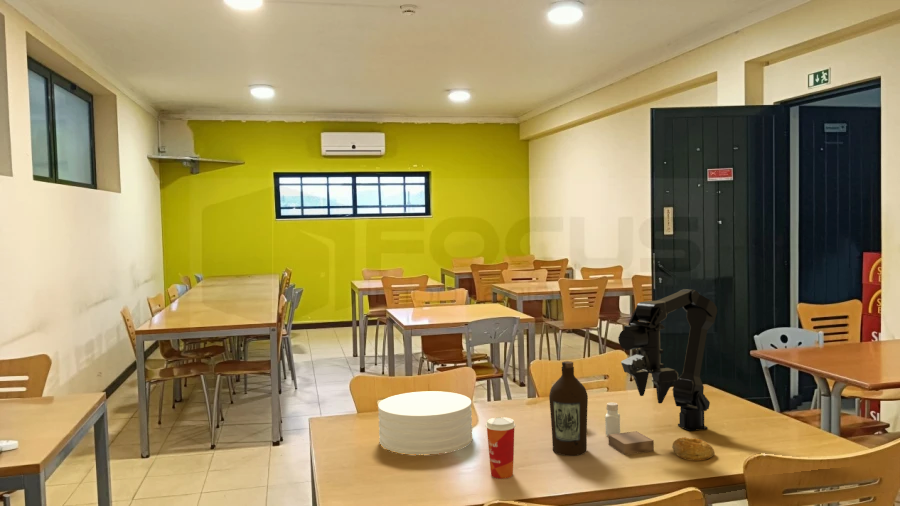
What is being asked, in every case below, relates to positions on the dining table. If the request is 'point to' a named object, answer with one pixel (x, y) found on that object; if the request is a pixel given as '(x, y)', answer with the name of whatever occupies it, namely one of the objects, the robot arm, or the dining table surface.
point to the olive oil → (568, 413)
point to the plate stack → (425, 422)
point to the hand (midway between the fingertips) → (650, 399)
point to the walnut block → (631, 442)
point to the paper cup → (501, 446)
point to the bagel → (692, 449)
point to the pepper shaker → (612, 419)
